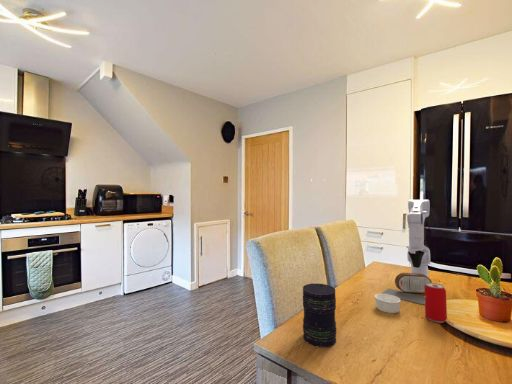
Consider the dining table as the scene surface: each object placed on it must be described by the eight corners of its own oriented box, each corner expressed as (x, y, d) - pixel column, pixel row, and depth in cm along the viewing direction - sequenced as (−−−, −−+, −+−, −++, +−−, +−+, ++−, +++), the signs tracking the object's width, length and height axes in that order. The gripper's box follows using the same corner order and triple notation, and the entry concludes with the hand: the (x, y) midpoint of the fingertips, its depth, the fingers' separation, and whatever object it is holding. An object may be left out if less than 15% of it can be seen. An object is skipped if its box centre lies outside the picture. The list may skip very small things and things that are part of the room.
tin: (429, 292, 115) (429, 273, 115) (433, 294, 111) (433, 275, 112) (394, 290, 116) (394, 271, 117) (397, 292, 113) (397, 273, 114)
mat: (388, 289, 119) (388, 288, 119) (439, 300, 105) (439, 299, 105) (380, 294, 112) (380, 293, 112) (435, 307, 98) (435, 307, 98)
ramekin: (399, 306, 99) (399, 295, 100) (402, 316, 91) (401, 303, 92) (374, 303, 103) (374, 292, 103) (375, 311, 95) (374, 300, 95)
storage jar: (331, 352, 70) (330, 297, 70) (297, 341, 75) (297, 290, 75) (340, 335, 78) (339, 286, 79) (309, 327, 83) (309, 281, 84)
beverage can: (443, 317, 90) (442, 283, 91) (450, 325, 84) (448, 288, 85) (422, 314, 92) (421, 281, 93) (428, 322, 86) (427, 286, 87)
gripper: (410, 235, 127) (411, 263, 127) (402, 238, 117) (402, 268, 116) (426, 237, 123) (427, 265, 122) (419, 239, 112) (420, 270, 111)
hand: (416, 267), depth 119 cm, fingers closed
